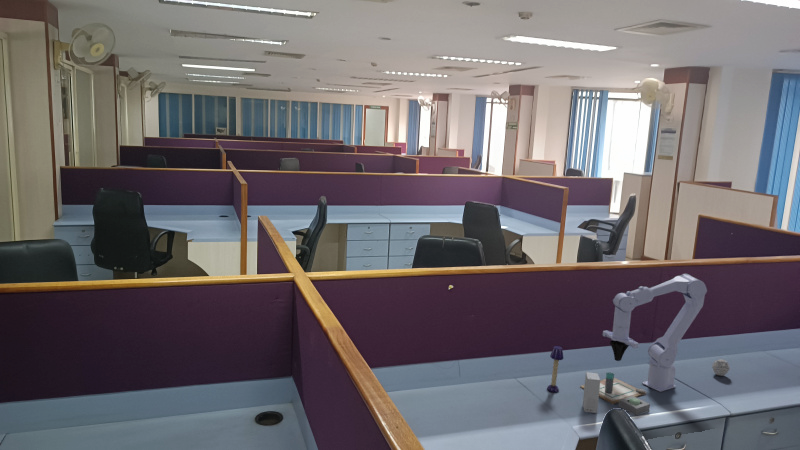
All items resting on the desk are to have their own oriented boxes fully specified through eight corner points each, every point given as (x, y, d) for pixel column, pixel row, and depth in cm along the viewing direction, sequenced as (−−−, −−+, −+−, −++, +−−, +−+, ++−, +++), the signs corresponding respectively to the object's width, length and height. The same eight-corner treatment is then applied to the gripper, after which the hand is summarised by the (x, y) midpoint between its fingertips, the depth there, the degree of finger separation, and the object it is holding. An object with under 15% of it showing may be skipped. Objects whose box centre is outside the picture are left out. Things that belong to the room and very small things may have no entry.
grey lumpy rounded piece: (714, 378, 225) (716, 361, 224) (708, 371, 232) (710, 354, 231) (730, 380, 224) (733, 363, 223) (725, 373, 231) (727, 356, 230)
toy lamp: (554, 386, 213) (558, 344, 210) (563, 391, 209) (567, 348, 206) (544, 388, 211) (548, 345, 208) (552, 394, 207) (556, 350, 204)
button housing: (631, 402, 202) (632, 395, 202) (649, 410, 196) (649, 404, 196) (618, 406, 199) (619, 399, 198) (635, 415, 193) (636, 408, 192)
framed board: (613, 377, 222) (613, 375, 222) (646, 393, 209) (647, 391, 209) (580, 387, 213) (580, 384, 213) (613, 404, 200) (613, 401, 200)
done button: (632, 405, 200) (633, 397, 199) (641, 409, 197) (642, 401, 196) (626, 407, 198) (627, 399, 198) (634, 411, 195) (635, 403, 195)
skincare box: (597, 413, 193) (600, 380, 191) (584, 412, 194) (587, 378, 192) (595, 405, 199) (598, 373, 197) (582, 403, 200) (585, 371, 198)
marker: (608, 389, 210) (609, 371, 209) (614, 392, 208) (615, 374, 207) (603, 391, 209) (604, 373, 208) (608, 394, 207) (610, 376, 205)
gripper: (598, 321, 216) (595, 355, 219) (630, 333, 204) (627, 369, 206) (611, 318, 220) (607, 351, 222) (643, 330, 208) (639, 365, 210)
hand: (617, 360), depth 215 cm, fingers closed
